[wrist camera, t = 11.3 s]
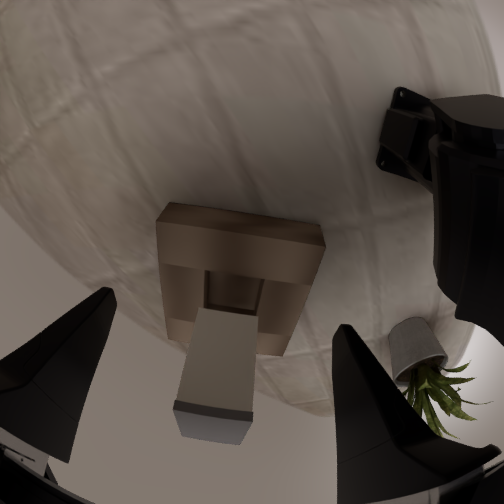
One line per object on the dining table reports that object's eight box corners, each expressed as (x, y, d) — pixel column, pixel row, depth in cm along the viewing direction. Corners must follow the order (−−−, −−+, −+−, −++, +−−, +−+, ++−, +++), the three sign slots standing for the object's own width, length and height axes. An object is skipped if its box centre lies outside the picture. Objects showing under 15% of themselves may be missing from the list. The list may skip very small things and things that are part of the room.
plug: (259, 316, 18) (252, 421, 12) (247, 361, 21) (239, 445, 15) (198, 307, 18) (172, 409, 12) (198, 354, 21) (182, 436, 15)
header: (319, 225, 21) (326, 246, 19) (282, 334, 29) (282, 356, 27) (169, 202, 21) (155, 221, 18) (174, 317, 29) (168, 339, 26)
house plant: (352, 375, 35) (364, 478, 21) (336, 321, 28) (355, 471, 14) (440, 345, 31) (470, 441, 17) (452, 280, 24) (511, 408, 10)
